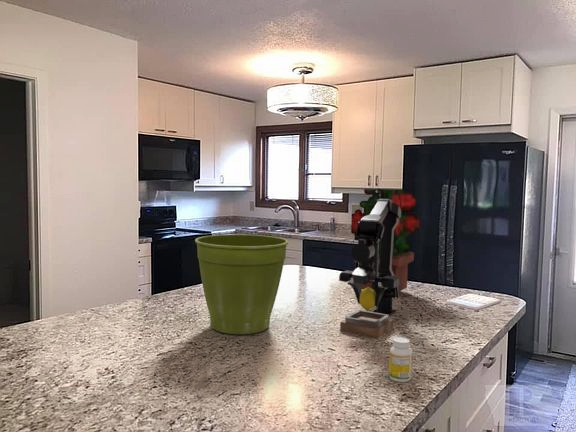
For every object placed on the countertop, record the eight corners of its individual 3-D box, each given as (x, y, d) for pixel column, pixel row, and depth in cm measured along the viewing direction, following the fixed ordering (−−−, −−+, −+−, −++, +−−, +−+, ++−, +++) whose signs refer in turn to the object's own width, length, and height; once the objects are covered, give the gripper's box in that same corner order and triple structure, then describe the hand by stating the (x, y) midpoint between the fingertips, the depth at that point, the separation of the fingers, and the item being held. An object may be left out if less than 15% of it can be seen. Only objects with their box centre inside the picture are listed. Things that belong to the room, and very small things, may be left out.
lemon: (376, 314, 153) (376, 289, 153) (358, 313, 154) (359, 288, 154) (376, 309, 159) (377, 285, 158) (359, 308, 160) (360, 284, 159)
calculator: (500, 303, 198) (500, 298, 198) (476, 311, 184) (477, 306, 184) (469, 297, 208) (469, 292, 208) (445, 304, 194) (445, 299, 194)
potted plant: (416, 291, 213) (420, 189, 210) (399, 301, 195) (403, 190, 192) (369, 285, 225) (372, 188, 222) (349, 293, 207) (352, 188, 203)
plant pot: (176, 334, 149) (176, 241, 146) (221, 310, 176) (222, 232, 174) (265, 347, 138) (266, 248, 136) (298, 320, 166) (300, 237, 164)
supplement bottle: (404, 384, 115) (406, 345, 114) (384, 378, 118) (386, 340, 118) (414, 377, 119) (416, 339, 118) (395, 371, 122) (396, 334, 122)
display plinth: (356, 321, 166) (357, 308, 166) (393, 328, 159) (393, 314, 159) (340, 331, 155) (340, 317, 155) (378, 338, 148) (378, 324, 148)
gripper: (332, 257, 153) (330, 306, 155) (388, 264, 144) (386, 315, 145) (347, 253, 163) (345, 299, 164) (400, 259, 153) (398, 307, 154)
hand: (367, 305), depth 156 cm, fingers closed on lemon, 5 cm apart
